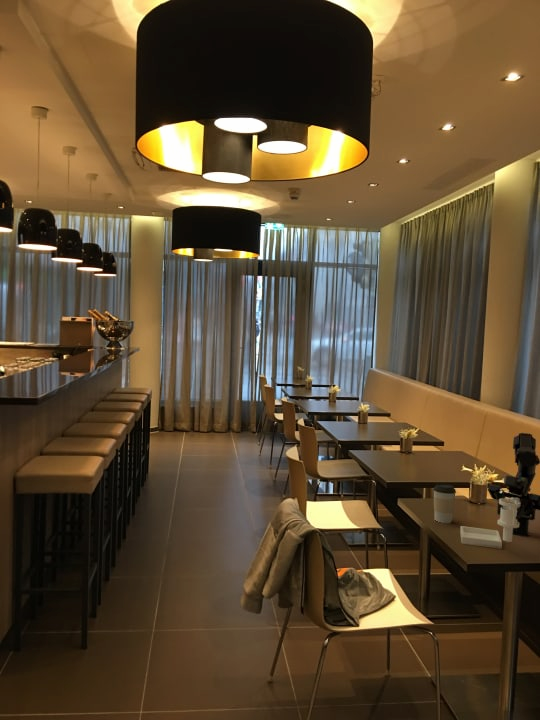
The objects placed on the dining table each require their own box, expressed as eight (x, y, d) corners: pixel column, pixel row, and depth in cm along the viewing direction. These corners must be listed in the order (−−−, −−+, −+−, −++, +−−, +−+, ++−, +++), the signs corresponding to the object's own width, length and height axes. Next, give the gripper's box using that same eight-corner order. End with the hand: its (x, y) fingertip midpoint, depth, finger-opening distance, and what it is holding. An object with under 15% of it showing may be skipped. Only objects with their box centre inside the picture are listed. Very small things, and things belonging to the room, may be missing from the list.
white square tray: (460, 532, 225) (460, 525, 225) (497, 537, 222) (497, 530, 222) (461, 543, 212) (462, 536, 212) (501, 548, 209) (501, 541, 208)
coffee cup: (456, 520, 241) (458, 484, 241) (451, 525, 234) (453, 488, 233) (434, 516, 246) (436, 480, 245) (429, 521, 238) (431, 484, 238)
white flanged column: (522, 543, 201) (525, 500, 201) (504, 544, 200) (507, 500, 199) (510, 536, 208) (512, 495, 208) (492, 537, 207) (495, 495, 206)
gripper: (491, 462, 213) (474, 496, 206) (543, 472, 199) (527, 509, 192) (500, 480, 218) (484, 515, 211) (551, 492, 205) (536, 528, 198)
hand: (506, 516), depth 203 cm, fingers closed on white flanged column, 6 cm apart
